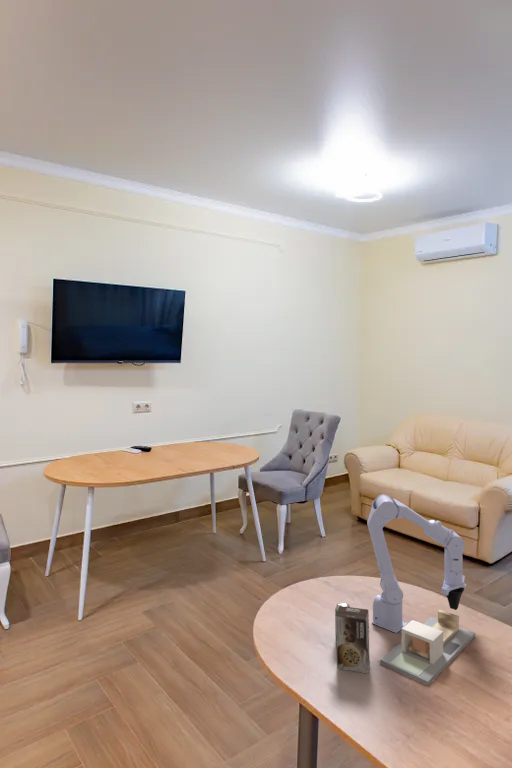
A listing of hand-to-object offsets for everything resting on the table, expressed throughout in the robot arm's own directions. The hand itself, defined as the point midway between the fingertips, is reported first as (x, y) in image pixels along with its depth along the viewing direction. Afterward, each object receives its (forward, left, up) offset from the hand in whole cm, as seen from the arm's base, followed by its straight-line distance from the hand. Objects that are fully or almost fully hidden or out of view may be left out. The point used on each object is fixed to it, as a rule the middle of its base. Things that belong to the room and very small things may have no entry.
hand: (453, 608), depth 167 cm
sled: (0, -15, -5) cm, 15 cm away
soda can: (-22, -33, -7) cm, 40 cm away
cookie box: (-13, -41, -7) cm, 44 cm away
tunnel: (0, -23, -5) cm, 24 cm away
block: (0, -23, -4) cm, 23 cm away
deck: (0, -18, -6) cm, 19 cm away
